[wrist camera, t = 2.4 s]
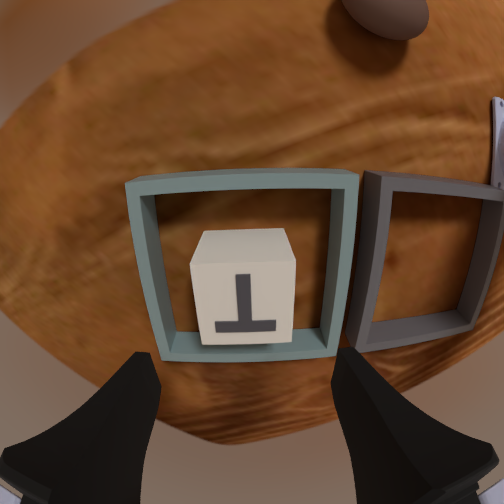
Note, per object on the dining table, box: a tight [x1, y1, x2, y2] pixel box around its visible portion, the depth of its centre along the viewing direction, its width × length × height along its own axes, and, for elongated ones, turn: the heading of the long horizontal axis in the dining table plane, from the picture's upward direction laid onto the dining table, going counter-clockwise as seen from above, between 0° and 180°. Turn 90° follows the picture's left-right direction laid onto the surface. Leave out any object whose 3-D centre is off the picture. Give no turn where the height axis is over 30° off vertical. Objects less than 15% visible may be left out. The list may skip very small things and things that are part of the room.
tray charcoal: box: [345, 170, 504, 353], centre depth 18 cm, size 13×13×2 cm
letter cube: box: [190, 228, 296, 345], centre depth 16 cm, size 5×5×5 cm
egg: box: [341, 0, 429, 40], centre depth 10 cm, size 6×6×4 cm
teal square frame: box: [125, 168, 359, 362], centre depth 18 cm, size 13×13×2 cm
